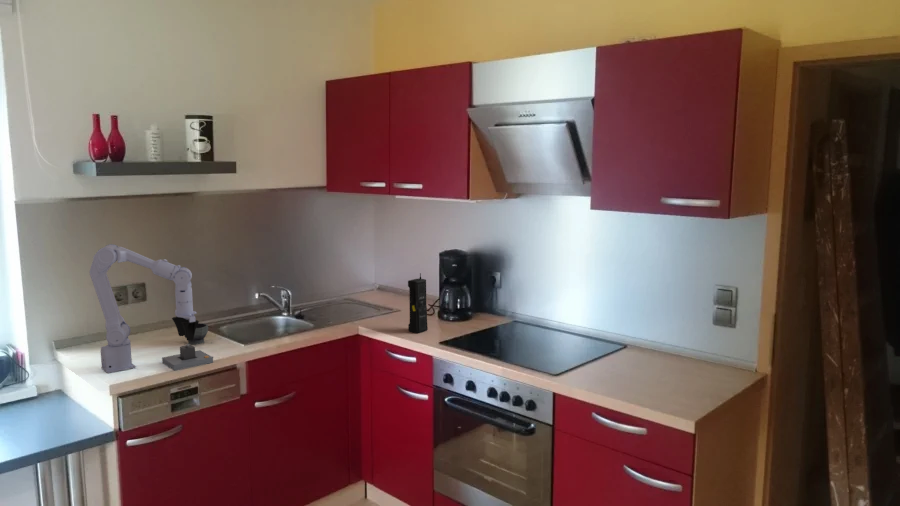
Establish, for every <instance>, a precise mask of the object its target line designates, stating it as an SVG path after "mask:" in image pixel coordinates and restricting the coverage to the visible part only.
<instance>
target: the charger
mask: <svg viewBox="0 0 900 506" xmlns="http://www.w3.org/2000/svg"><path fill="white" fill-rule="evenodd" d="M184 344H185V345H182V346H180V347H179V354H180V358H181V360H188V359H193V358H196V357H195V351H196V347H195V345H190V344H188V343H184Z"/></svg>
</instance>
